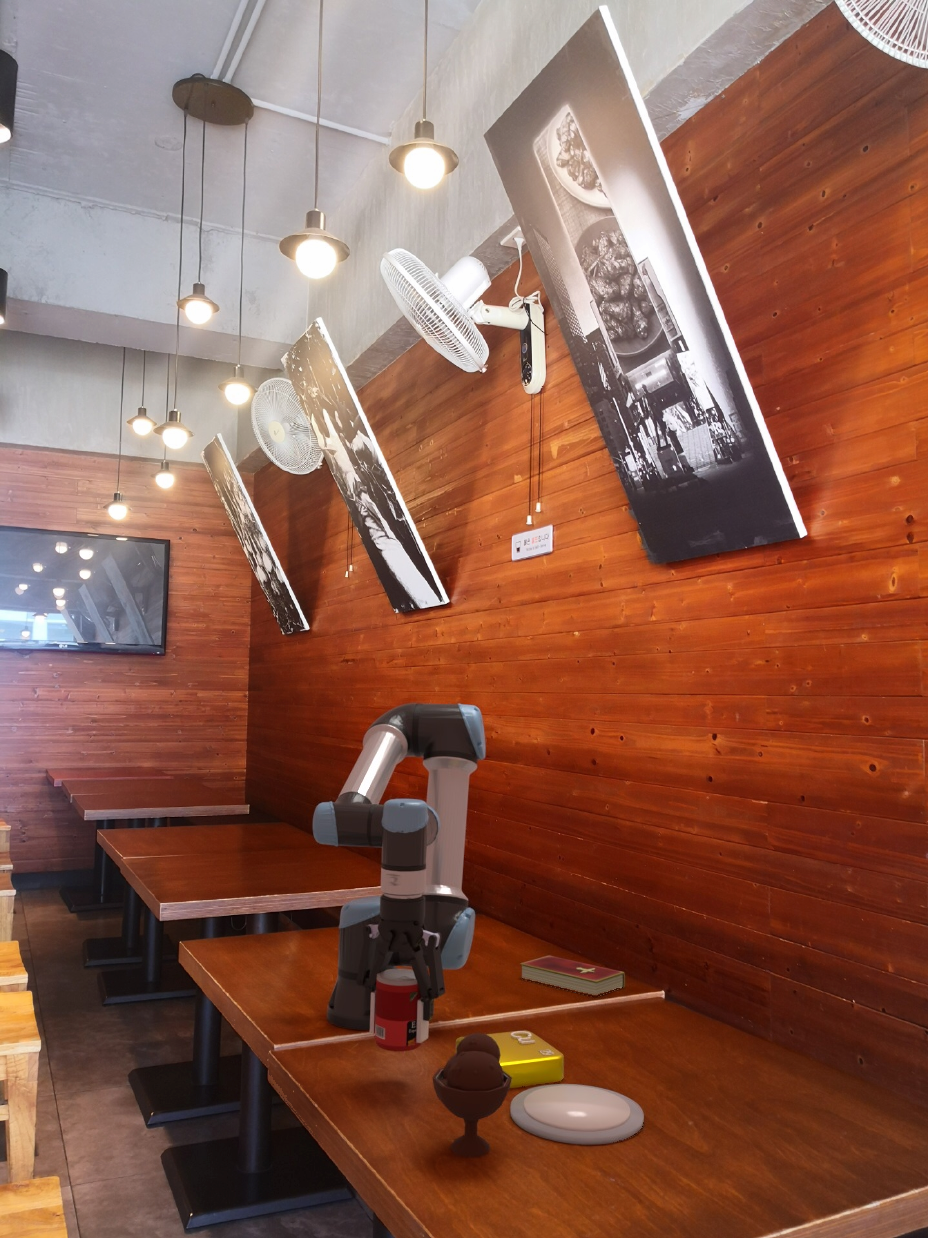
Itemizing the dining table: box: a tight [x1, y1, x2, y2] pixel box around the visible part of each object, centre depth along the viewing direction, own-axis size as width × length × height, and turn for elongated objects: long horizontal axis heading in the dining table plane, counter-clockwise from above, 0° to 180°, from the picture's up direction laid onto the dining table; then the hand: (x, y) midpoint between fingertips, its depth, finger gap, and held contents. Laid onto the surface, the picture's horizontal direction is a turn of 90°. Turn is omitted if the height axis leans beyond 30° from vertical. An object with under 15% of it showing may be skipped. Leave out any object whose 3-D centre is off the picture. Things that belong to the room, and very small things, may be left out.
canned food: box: [374, 968, 423, 1052], centre depth 158 cm, size 8×8×11 cm
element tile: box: [455, 1030, 565, 1089], centre depth 164 cm, size 15×15×5 cm
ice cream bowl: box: [432, 1032, 512, 1158], centre depth 134 cm, size 11×11×15 cm
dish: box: [510, 1083, 645, 1146], centre depth 145 cm, size 20×20×2 cm
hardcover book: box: [519, 955, 626, 995], centre depth 220 cm, size 12×21×4 cm, turn 49°
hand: (398, 1035), depth 157 cm, fingers closed on canned food, 8 cm apart
